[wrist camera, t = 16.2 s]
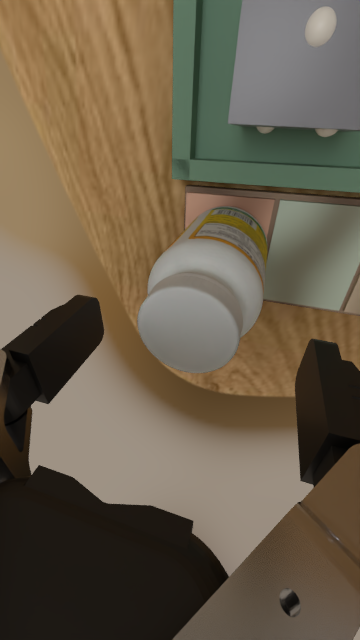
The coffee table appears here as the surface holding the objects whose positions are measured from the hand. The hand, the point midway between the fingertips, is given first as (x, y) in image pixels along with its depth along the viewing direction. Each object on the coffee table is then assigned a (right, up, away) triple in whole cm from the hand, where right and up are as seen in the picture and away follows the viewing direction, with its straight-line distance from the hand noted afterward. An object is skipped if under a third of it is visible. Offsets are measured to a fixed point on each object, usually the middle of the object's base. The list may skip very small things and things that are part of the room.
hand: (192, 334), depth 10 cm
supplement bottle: (+2, +5, +8) cm, 10 cm away
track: (+8, +5, +7) cm, 12 cm away
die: (+5, +12, +2) cm, 14 cm away
